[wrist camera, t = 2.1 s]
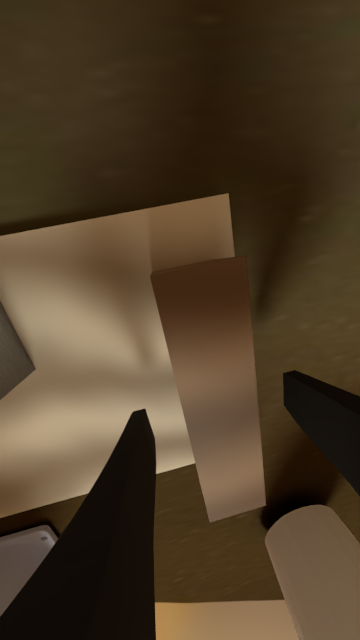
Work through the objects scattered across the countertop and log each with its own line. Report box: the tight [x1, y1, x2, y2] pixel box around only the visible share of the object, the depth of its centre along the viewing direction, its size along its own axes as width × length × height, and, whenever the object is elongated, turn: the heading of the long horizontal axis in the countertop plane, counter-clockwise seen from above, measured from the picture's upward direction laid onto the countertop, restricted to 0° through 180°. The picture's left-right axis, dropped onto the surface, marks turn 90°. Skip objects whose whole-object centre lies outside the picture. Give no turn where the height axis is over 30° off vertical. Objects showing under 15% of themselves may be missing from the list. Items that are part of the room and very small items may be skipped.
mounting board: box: [0, 193, 235, 518], centre depth 12 cm, size 18×21×1 cm
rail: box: [150, 256, 266, 522], centre depth 10 cm, size 14×3×4 cm, turn 11°
